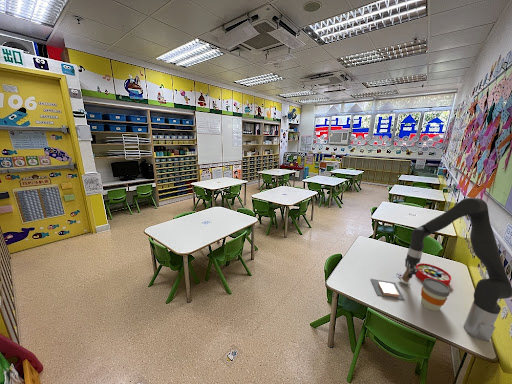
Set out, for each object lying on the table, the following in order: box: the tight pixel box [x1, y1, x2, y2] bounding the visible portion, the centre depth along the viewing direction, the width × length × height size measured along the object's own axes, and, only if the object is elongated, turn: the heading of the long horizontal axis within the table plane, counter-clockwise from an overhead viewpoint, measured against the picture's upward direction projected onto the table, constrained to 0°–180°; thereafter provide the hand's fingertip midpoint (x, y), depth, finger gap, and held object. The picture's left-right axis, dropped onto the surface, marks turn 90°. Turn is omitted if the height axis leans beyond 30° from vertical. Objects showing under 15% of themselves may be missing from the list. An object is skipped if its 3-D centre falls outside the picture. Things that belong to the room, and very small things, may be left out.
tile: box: [378, 282, 399, 297], centre depth 138 cm, size 2×9×10 cm
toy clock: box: [415, 262, 452, 287], centre depth 152 cm, size 20×6×20 cm
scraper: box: [397, 267, 412, 286], centre depth 144 cm, size 6×6×11 cm
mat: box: [370, 278, 406, 301], centre depth 140 cm, size 16×16×1 cm
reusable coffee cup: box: [420, 278, 451, 312], centre depth 126 cm, size 13×13×15 cm
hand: (408, 275), depth 144 cm, fingers closed on scraper, 3 cm apart
